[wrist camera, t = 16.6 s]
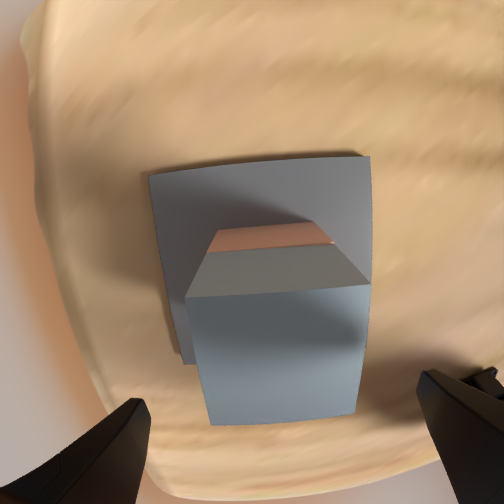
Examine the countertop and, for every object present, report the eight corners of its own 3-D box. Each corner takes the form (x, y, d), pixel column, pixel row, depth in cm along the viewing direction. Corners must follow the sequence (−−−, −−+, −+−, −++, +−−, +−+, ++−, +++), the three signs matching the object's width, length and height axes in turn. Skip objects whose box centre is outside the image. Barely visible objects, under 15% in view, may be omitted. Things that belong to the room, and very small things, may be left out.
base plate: (362, 341, 23) (365, 348, 22) (186, 357, 23) (183, 364, 22) (364, 156, 19) (369, 156, 18) (153, 174, 19) (148, 175, 18)
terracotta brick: (316, 308, 21) (332, 348, 16) (229, 315, 21) (222, 358, 16) (314, 221, 19) (334, 241, 14) (218, 229, 19) (206, 252, 14)
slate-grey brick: (330, 350, 16) (354, 413, 11) (220, 358, 16) (211, 425, 11) (334, 244, 14) (371, 284, 9) (206, 252, 14) (184, 297, 10)
